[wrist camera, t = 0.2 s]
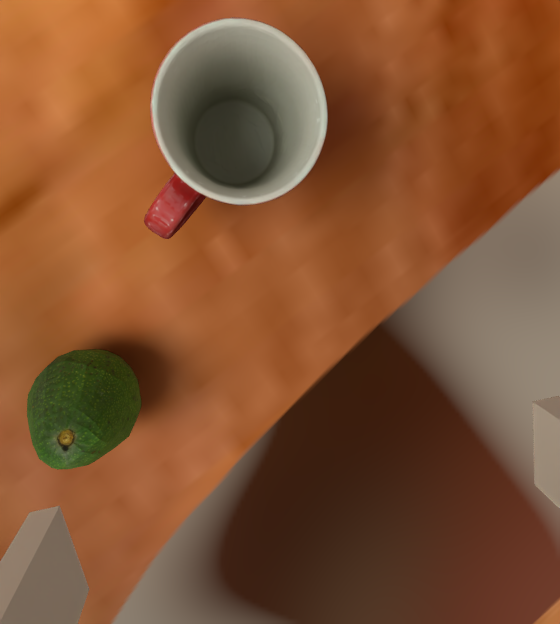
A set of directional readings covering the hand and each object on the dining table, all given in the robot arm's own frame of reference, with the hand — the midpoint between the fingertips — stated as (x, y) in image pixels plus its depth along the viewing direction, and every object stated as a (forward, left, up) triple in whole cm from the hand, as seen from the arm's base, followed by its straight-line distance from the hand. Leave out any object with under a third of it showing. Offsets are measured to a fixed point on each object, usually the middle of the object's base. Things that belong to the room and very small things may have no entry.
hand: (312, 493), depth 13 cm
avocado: (+5, -14, -28) cm, 32 cm away
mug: (-11, 0, -28) cm, 30 cm away
